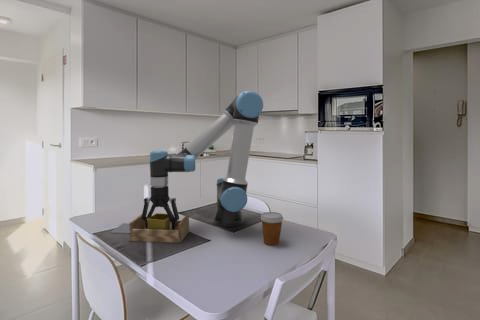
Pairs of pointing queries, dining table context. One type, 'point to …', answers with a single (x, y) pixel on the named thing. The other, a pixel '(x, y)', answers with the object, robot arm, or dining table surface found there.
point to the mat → (122, 229)
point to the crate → (158, 231)
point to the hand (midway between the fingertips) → (160, 235)
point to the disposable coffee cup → (271, 227)
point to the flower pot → (159, 222)
